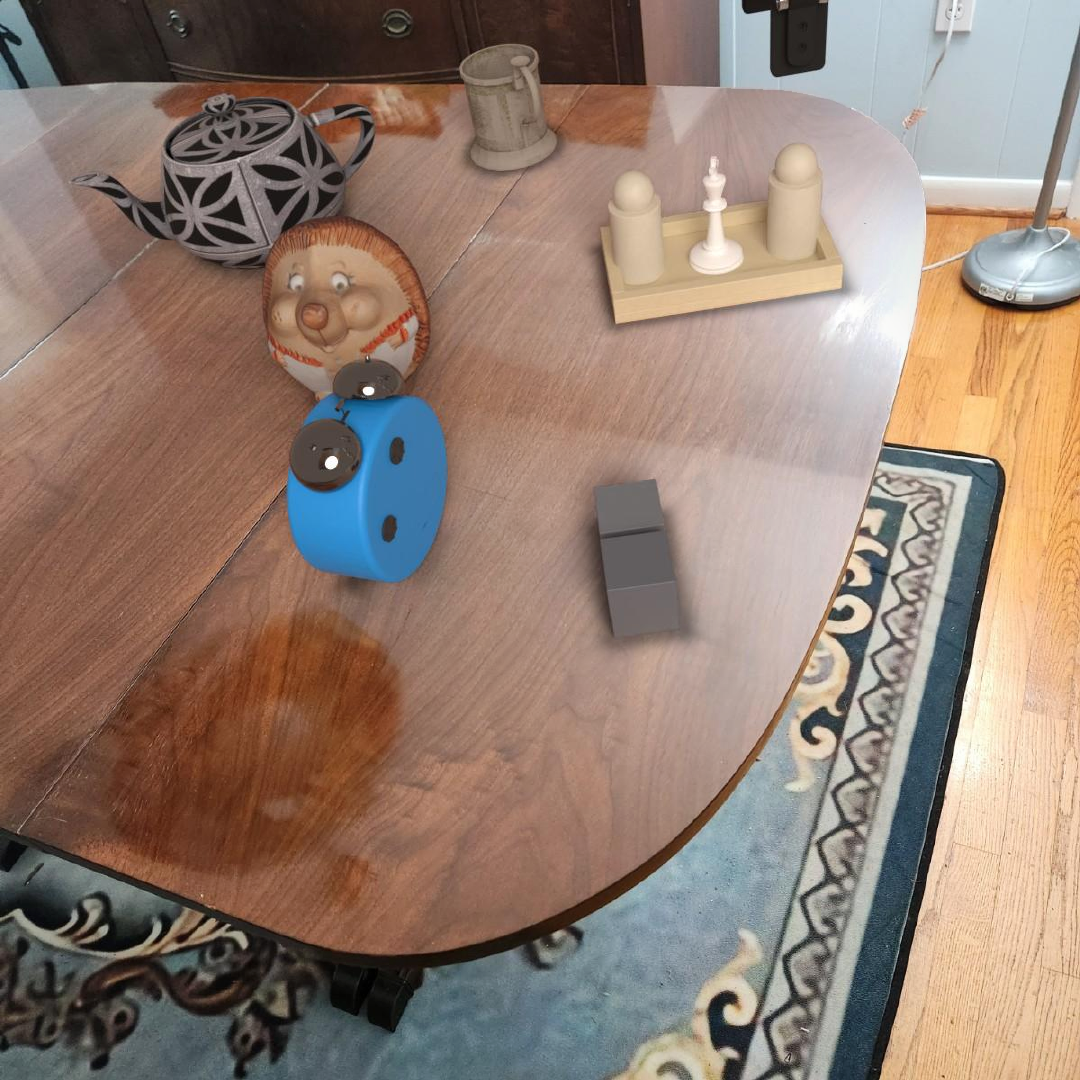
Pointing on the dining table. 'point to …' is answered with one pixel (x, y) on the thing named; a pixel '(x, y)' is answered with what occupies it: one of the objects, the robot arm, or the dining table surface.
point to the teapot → (242, 177)
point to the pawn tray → (759, 228)
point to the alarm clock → (367, 477)
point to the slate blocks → (636, 559)
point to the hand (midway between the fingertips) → (781, 38)
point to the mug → (506, 107)
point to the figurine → (341, 301)
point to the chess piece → (715, 231)
